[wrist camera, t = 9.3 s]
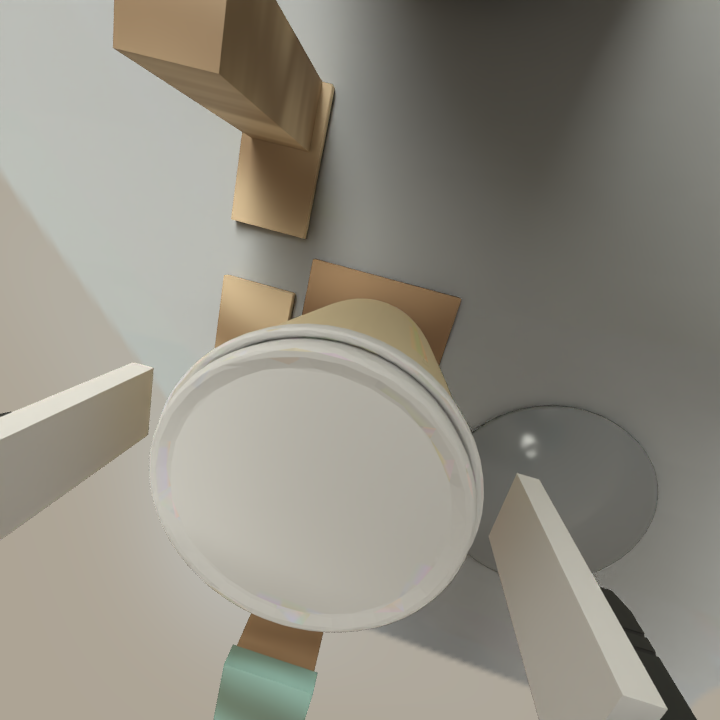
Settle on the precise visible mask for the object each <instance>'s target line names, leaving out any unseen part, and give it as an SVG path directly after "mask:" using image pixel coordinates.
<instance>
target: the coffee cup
mask: <svg viewBox="0 0 720 720" xmlns="http://www.w3.org/2000/svg"><path fill="white" fill-rule="evenodd" d="M149 475H150V476H149V477H150V488H151V493H152V497H153V502H154V505H155V509H156V512H157V515H158V517H159V520H160V522H161V524H162V527H163V529H164V531H165V533H166V534H167V536H168V538H169V540H170V542H171V543H172V545H173V546H174V548H175V549H176V550H177V552H178V554H179V555H180V556H181V558H182V559H183V560H184V561H185V562H186V564H187V565H188V566H189V567H190V568H191V569H192V570H193V572H195V574H197V576H199V578H200V579H202V580H203V581H204V582H205V583H206V584H207V585H208V586H209V587H211V588H212V589H213V590H214V591H216V592H217V593H218V594H220V595H221V596H223V597H224V598H225V599H227V600H229V601H230V602H232V603H233V604H235V605H237V606H238V607H240V608H242V609H244V610H246V611H248V612H250V613H252V614H254V615H257V616H259V617H261V618H264V619H266V620H269V621H272V622H275V623H278V624H281V625H285V626H288V627H292V628H297V629H303V630H308V631H317V632H352V631H361V630H367V629H373V628H377V627H380V626H384V625H388V624H391V623H393V622H396V621H398V620H401V619H403V618H405V617H407V616H409V615H411V614H413V613H415V612H417V611H418V610H420V609H421V608H422V607H424V606H425V605H427V604H428V603H429V602H431V601H432V600H433V599H435V598H436V597H437V596H438V595H439V594H440V593H441V592H442V591H443V590H444V589H445V588H446V587H447V586H448V585H449V584H450V582H451V581H452V580H453V578H454V577H455V575H456V574H457V573H458V571H459V569H460V567H461V566H462V564H463V562H464V561H465V559H466V556H467V554H468V551H469V549H470V548H471V546H472V544H473V541H474V539H475V536H476V534H477V531H478V528H479V524H480V520H481V516H482V510H483V501H484V485H483V473H482V466H481V460H480V456H479V453H478V449H477V446H476V442H475V440H474V438H473V435H472V433H471V431H470V428H469V426H468V424H467V422H466V420H465V419H464V417H463V415H462V413H461V412H460V410H459V408H458V406H457V405H456V403H455V402H454V401H453V399H452V396H451V394H450V391H449V389H448V386H447V384H446V382H445V379H444V377H443V375H442V372H441V370H440V368H439V365H438V363H437V361H436V359H435V356H434V354H433V352H432V350H431V348H430V345H429V343H428V341H427V339H426V338H425V336H424V334H423V333H422V331H421V329H420V328H419V327H418V326H417V324H416V323H415V322H414V321H413V320H412V319H411V318H410V317H409V316H408V315H407V314H405V313H404V312H403V311H401V310H400V309H398V308H397V307H394V306H392V305H390V304H388V303H385V302H382V301H379V300H374V299H349V300H345V301H341V302H337V303H333V304H331V305H328V306H325V307H323V308H320V309H317V310H315V311H312V312H310V313H307V314H304V315H302V316H299V317H296V318H294V319H291V320H289V321H286V322H284V323H282V324H279V325H277V326H272V327H268V328H264V329H260V330H256V331H253V332H249V333H246V334H244V335H241V336H239V337H236V338H234V339H231V340H229V341H227V342H225V343H224V344H222V345H220V346H218V347H216V348H215V349H213V350H212V351H210V352H209V353H208V354H206V355H205V356H204V357H202V358H201V359H200V360H198V361H197V362H196V363H195V364H194V365H193V366H192V367H191V368H190V369H189V370H188V371H187V372H186V373H185V374H184V375H183V377H182V378H181V379H180V380H179V382H178V383H177V384H176V386H175V387H174V389H173V391H172V392H171V394H170V395H169V397H168V399H167V401H166V404H165V406H164V408H163V410H162V413H161V416H160V420H159V422H158V425H157V428H156V431H155V434H154V437H153V440H152V444H151V451H150V457H149Z"/></svg>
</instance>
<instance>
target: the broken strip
mask: <svg viewBox="0 0 720 720" xmlns="http://www.w3.org/2000/svg"><path fill="white" fill-rule="evenodd" d="M113 48H114V49H116V50H117V51H119V52H120V53H122V54H123V55H125V56H126V57H128V58H129V59H131V60H133V61H134V62H136V63H137V64H139V65H140V66H142V67H143V68H145V69H146V70H148V71H149V72H151V73H153V74H154V75H156V76H157V77H159V78H160V79H162V80H163V81H165V82H166V83H168V84H169V85H171V86H173V87H174V88H176V89H177V90H179V91H180V92H182V93H183V94H185V95H186V96H188V97H189V98H191V99H193V100H194V101H196V102H197V103H199V104H200V105H202V106H203V107H205V108H206V109H208V110H209V111H211V112H213V113H214V114H216V115H217V116H219V117H220V118H222V119H223V120H225V121H226V122H228V123H229V124H231V125H233V126H234V127H236V128H237V129H239V130H240V131H242V138H241V146H240V154H239V162H238V170H237V178H236V185H235V193H234V201H233V209H232V217H231V219H232V220H236V221H240V222H243V223H247V224H251V225H255V226H258V227H262V228H266V229H270V230H273V231H277V232H281V233H285V234H288V235H292V236H296V237H300V238H303V239H306V236H307V231H308V225H309V220H310V215H311V210H312V204H313V199H314V194H315V189H316V184H317V178H318V173H319V168H320V163H321V158H322V152H323V147H324V142H325V137H326V131H327V126H328V121H329V116H330V111H331V105H332V100H333V95H334V90H335V88H334V86H333V84H329V83H325V82H322V81H321V79H320V77H319V75H318V73H317V72H316V70H315V68H314V66H313V65H312V63H311V61H310V59H309V58H308V56H307V54H306V52H305V51H304V49H303V47H302V45H301V44H300V42H299V40H298V38H297V37H296V35H295V33H294V31H293V29H292V28H291V26H290V24H289V22H288V21H287V19H286V17H285V15H284V14H283V12H282V10H281V8H280V7H279V5H278V3H277V1H276V0H114V31H113ZM294 298H295V293H293V292H289V291H286V290H282V289H278V288H275V287H271V286H268V285H264V284H260V283H257V282H253V281H249V280H246V279H242V278H239V277H235V276H231V275H224V280H223V287H222V295H221V303H220V311H219V319H218V327H217V335H216V342H215V348H216V347H218V346H220V345H222V344H224V343H225V342H227V341H229V340H231V339H234V338H236V337H239V336H241V335H244V334H246V333H249V332H253V331H256V330H260V329H264V328H268V327H272V326H277V325H279V324H282V323H284V322H286V321H289V320H290V319H291V314H292V309H293V304H294Z"/></svg>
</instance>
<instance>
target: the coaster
mask: <svg viewBox="0 0 720 720" xmlns="http://www.w3.org/2000/svg"><path fill="white" fill-rule="evenodd" d="M472 435H473V438H474V440H475V442H476V446H477V449H478V453H479V456H480V460H481V466H482V473H483V485H484V501H483V510H482V516H481V520H480V524H479V528H478V531H477V534H476V536H475V539H474V541H473V544H472V546H471V548H470V549H469V551H468V554H469V555H470V556H472V557H473V558H474V559H475V560H477V561H478V562H480V563H481V564H483V565H484V566H486V567H488V568H490V569H492V570H494V571H496V572H498V569H497V565H496V562H495V558H494V554H493V551H492V547H491V544H490V540H489V534H490V532H491V530H492V527H493V525H494V523H495V521H496V519H497V516H498V514H499V512H500V510H501V507H502V505H503V503H504V501H505V498H506V496H507V494H508V492H509V490H510V487H511V485H512V483H513V481H514V478H515V476H516V474H517V473H519V474H522V475H525V476H529V477H532V478H536V479H539V480H540V482H541V484H542V485H543V487H544V489H545V491H546V493H547V494H548V496H549V498H550V500H551V501H552V503H553V505H554V507H555V509H556V510H557V512H558V514H559V516H560V518H561V519H562V521H563V523H564V525H565V526H566V528H567V530H568V532H569V534H570V535H571V537H572V539H573V541H574V543H575V544H576V546H577V548H578V550H579V551H580V553H581V555H582V557H583V559H584V560H585V562H586V564H587V566H588V567H589V569H590V571H591V573H594V572H597V571H599V570H601V569H603V568H605V567H607V566H609V565H611V564H612V563H614V562H616V561H617V560H619V559H620V558H622V557H623V556H624V555H625V554H627V553H628V552H629V551H630V550H631V549H632V548H633V547H634V546H635V545H636V544H637V543H638V542H639V541H640V539H641V538H642V537H643V535H644V534H645V533H646V531H647V529H648V527H649V525H650V523H651V522H652V519H653V516H654V513H655V510H656V505H657V500H658V484H657V479H656V474H655V471H654V468H653V465H652V463H651V461H650V459H649V457H648V456H647V454H646V452H645V451H644V449H643V448H642V447H641V446H640V445H639V443H638V442H637V441H636V440H635V439H634V438H633V437H632V436H630V435H629V434H628V433H627V432H626V431H625V430H624V429H622V428H621V427H620V426H618V425H617V424H615V423H614V422H612V421H610V420H608V419H606V418H604V417H602V416H600V415H598V414H595V413H592V412H589V411H586V410H582V409H577V408H573V407H564V406H538V407H530V408H524V409H520V410H516V411H512V412H510V413H507V414H504V415H502V416H499V417H497V418H495V419H493V420H491V421H489V422H487V423H486V424H484V425H483V426H481V427H480V428H478V429H477V430H475V431H474V432H473V433H472Z"/></svg>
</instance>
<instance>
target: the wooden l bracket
mask: <svg viewBox="0 0 720 720" xmlns="http://www.w3.org/2000/svg"><path fill="white" fill-rule="evenodd" d="M349 299H374V300H379V301H382V302H385V303H388V304H390V305H392V306H394V307H397V308H398V309H400V310H401V311H403V312H404V313H405V314H407V315H408V316H409V317H410V318H411V319H412V320H413V321H414V322H415V323H416V324H417V326H418V327H419V328H420V329H421V331H422V333H423V334H424V336H425V338H426V339H427V341H428V343H429V345H430V348H431V350H432V352H433V354H434V356H435V359H436V361H437V363H438V365H439V364H440V361H441V358H442V355H443V352H444V349H445V346H446V343H447V340H448V337H449V334H450V331H451V328H452V326H453V323H454V320H455V317H456V314H457V311H458V308H459V305H460V302H461V298H459V297H455V296H451V295H447V294H444V293H440V292H436V291H433V290H429V289H425V288H421V287H418V286H414V285H410V284H407V283H403V282H399V281H395V280H392V279H388V278H384V277H381V276H377V275H373V274H370V273H366V272H362V271H358V270H355V269H351V268H347V267H344V266H340V265H336V264H332V263H329V262H325V261H321V260H318V259H313V262H312V267H311V272H310V277H309V282H308V287H307V292H306V297H305V302H304V307H303V312H302V315H304V314H307V313H310V312H312V311H315V310H317V309H320V308H323V307H325V306H328V305H331V304H333V303H337V302H341V301H345V300H349ZM322 635H323V632H317V631H308V630H303V629H297V628H292V627H288V626H285V625H281V624H278V623H275V622H272V621H269V620H266V619H264V618H261V617H259V616H257V615H254V614H252V613H251V615H250V617H249V619H248V622H247V624H246V626H245V629H244V631H243V633H242V635H241V638H240V640H239V642H238V644H237V646H236V645H233V646H232V648H231V650H230V653H229V655H228V657H227V659H226V661H225V664H224V668H223V673H222V678H221V684H220V688H219V694H218V699H217V704H216V710H215V715H214V720H305V717H306V714H307V711H308V708H309V704H310V701H311V698H312V695H313V691H314V687H315V682H316V677H317V672H314V670H315V665H316V661H317V657H318V653H319V648H320V644H321V640H322Z"/></svg>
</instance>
